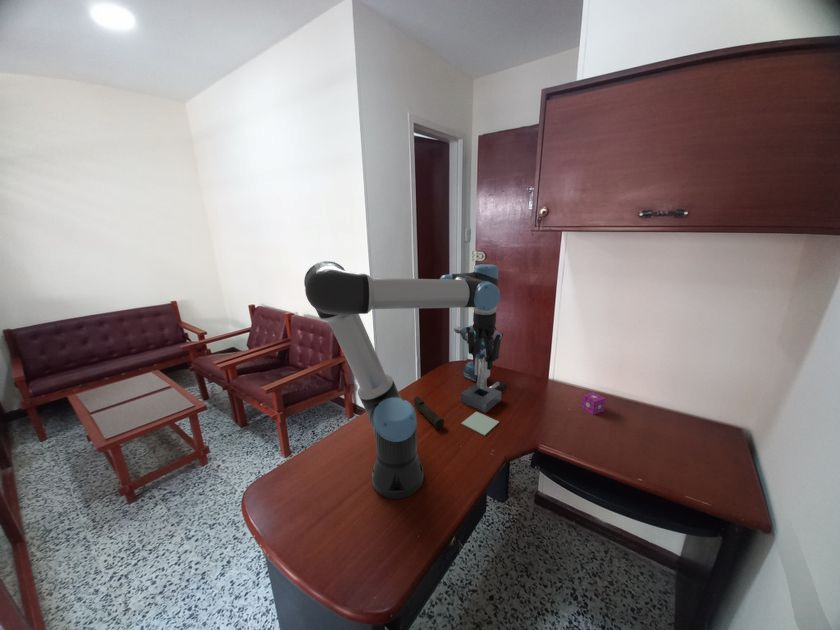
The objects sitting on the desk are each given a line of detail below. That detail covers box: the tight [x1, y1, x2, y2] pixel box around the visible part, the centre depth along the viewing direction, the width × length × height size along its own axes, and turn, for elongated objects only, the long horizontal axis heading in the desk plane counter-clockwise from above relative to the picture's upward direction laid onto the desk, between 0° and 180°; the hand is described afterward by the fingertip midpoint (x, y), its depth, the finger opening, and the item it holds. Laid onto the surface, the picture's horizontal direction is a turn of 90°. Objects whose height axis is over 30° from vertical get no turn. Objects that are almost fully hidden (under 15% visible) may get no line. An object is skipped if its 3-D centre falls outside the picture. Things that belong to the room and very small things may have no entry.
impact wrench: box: [453, 325, 495, 383], centre depth 146 cm, size 8×23×25 cm, turn 40°
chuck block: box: [460, 381, 502, 414], centre depth 131 cm, size 20×12×4 cm, turn 137°
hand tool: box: [413, 396, 445, 430], centre depth 120 cm, size 19×4×5 cm, turn 28°
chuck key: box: [476, 348, 488, 389], centre depth 109 cm, size 7×3×14 cm, turn 137°
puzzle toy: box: [580, 391, 606, 416], centre depth 121 cm, size 6×6×6 cm
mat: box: [460, 411, 500, 436], centre depth 115 cm, size 10×10×1 cm
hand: (482, 375), depth 109 cm, fingers closed on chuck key, 3 cm apart
